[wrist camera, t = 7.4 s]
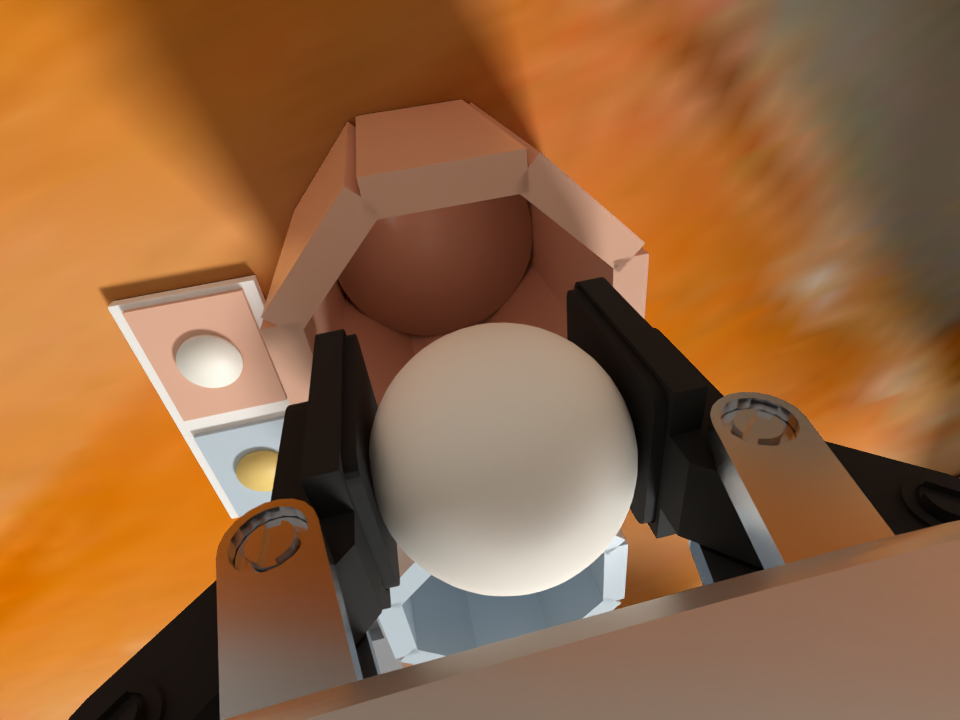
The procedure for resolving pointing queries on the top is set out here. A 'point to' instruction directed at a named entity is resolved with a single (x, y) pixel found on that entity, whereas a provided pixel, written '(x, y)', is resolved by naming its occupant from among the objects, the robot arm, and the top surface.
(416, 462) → the ball cream
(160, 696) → the robot arm
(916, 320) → the top surface
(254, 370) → the card
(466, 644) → the tube bluegrey
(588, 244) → the tube terracotta
